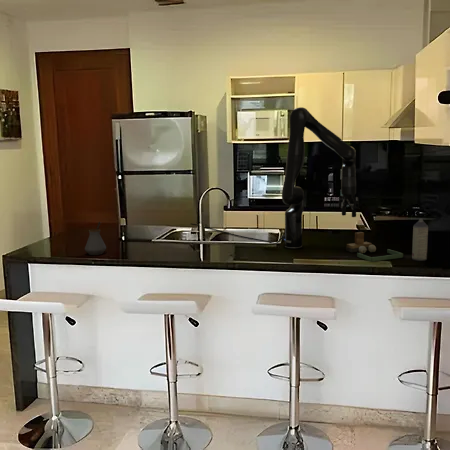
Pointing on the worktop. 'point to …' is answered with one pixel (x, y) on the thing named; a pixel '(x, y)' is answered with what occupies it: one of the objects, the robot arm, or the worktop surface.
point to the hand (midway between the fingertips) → (348, 216)
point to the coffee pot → (95, 242)
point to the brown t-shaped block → (358, 243)
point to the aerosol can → (420, 241)
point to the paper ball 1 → (362, 249)
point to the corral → (395, 255)
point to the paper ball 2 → (372, 248)
